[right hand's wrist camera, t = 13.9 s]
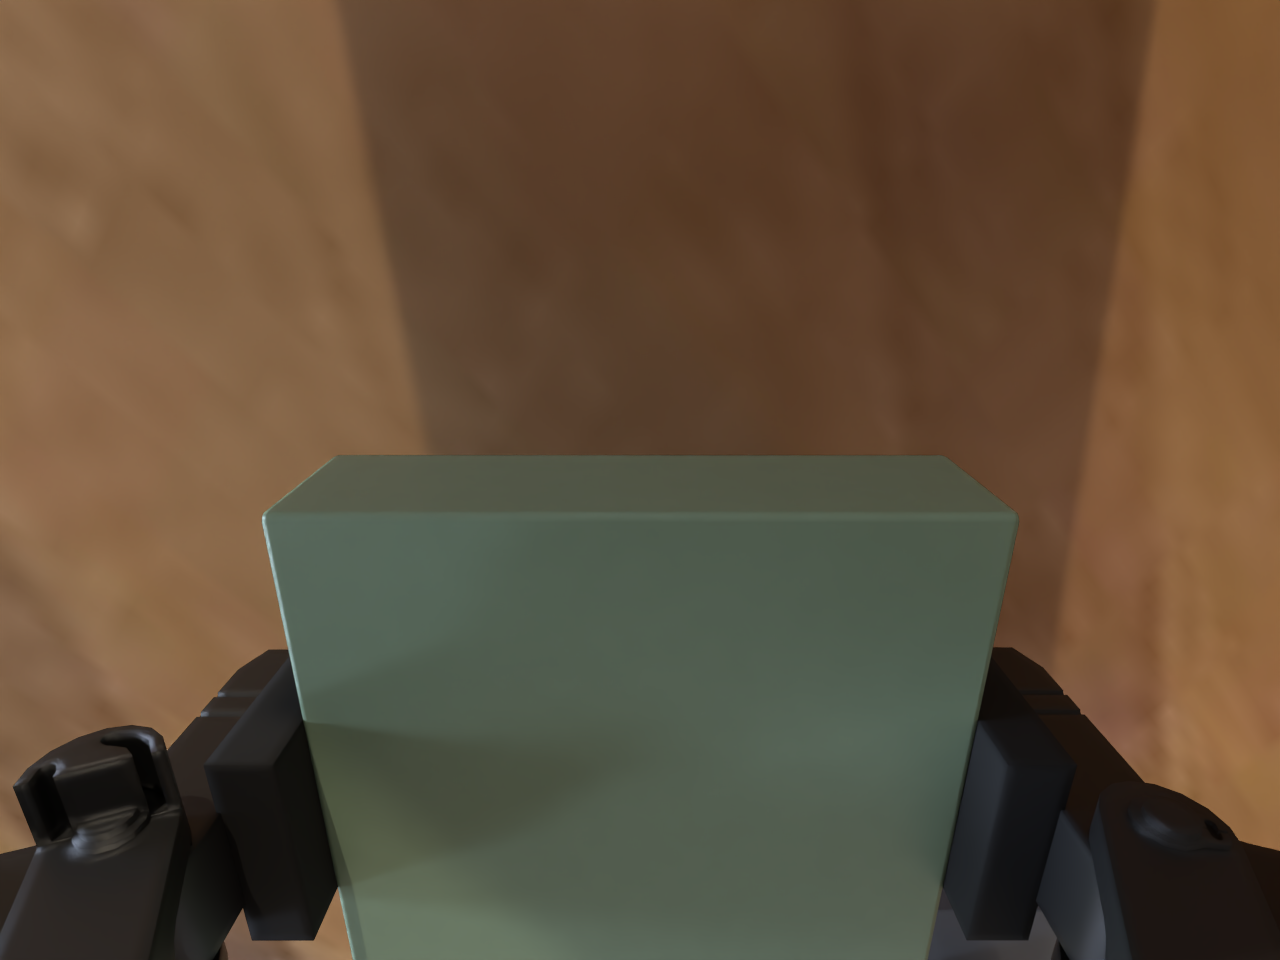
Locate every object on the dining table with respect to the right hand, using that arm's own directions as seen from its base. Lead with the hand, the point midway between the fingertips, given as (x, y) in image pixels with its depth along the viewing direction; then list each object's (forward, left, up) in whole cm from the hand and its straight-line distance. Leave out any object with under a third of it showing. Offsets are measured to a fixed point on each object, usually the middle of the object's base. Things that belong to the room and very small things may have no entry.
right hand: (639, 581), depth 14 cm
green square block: (0, 0, +2) cm, 2 cm away
